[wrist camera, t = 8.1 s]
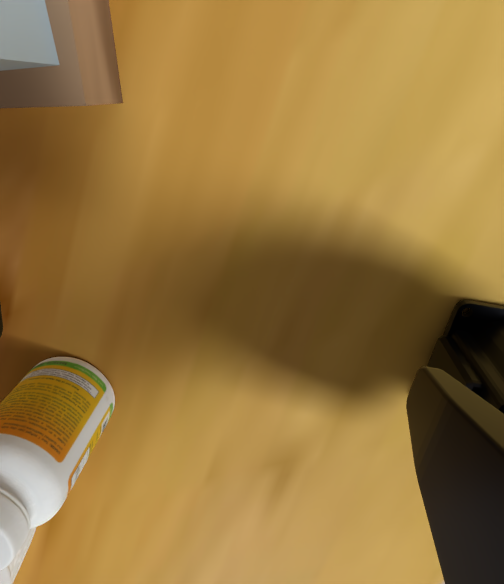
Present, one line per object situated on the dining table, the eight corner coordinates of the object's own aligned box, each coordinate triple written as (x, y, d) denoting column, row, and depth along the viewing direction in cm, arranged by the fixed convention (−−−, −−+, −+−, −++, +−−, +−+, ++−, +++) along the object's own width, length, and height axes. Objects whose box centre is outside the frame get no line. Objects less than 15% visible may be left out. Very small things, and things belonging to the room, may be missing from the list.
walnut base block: (100, -67, 17) (48, -111, 13) (124, 102, 19) (85, 105, 16) (-46, -58, 17) (-135, -97, 14) (-4, 106, 20) (-70, 110, 16)
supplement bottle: (15, 358, 25) (-129, 499, 17) (101, 348, 25) (-3, 491, 16) (48, 429, 28) (-65, 586, 19) (128, 422, 27) (49, 583, 18)
